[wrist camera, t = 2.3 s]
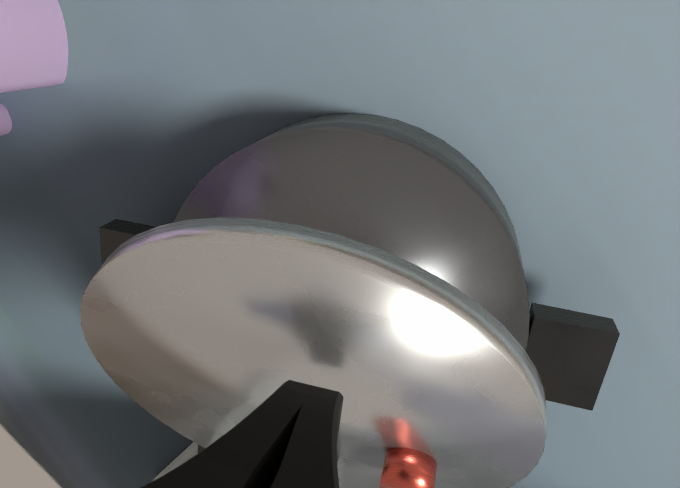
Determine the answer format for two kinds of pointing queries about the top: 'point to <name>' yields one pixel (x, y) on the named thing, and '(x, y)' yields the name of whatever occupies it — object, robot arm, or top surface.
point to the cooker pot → (403, 226)
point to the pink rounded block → (30, 48)
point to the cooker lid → (317, 349)
